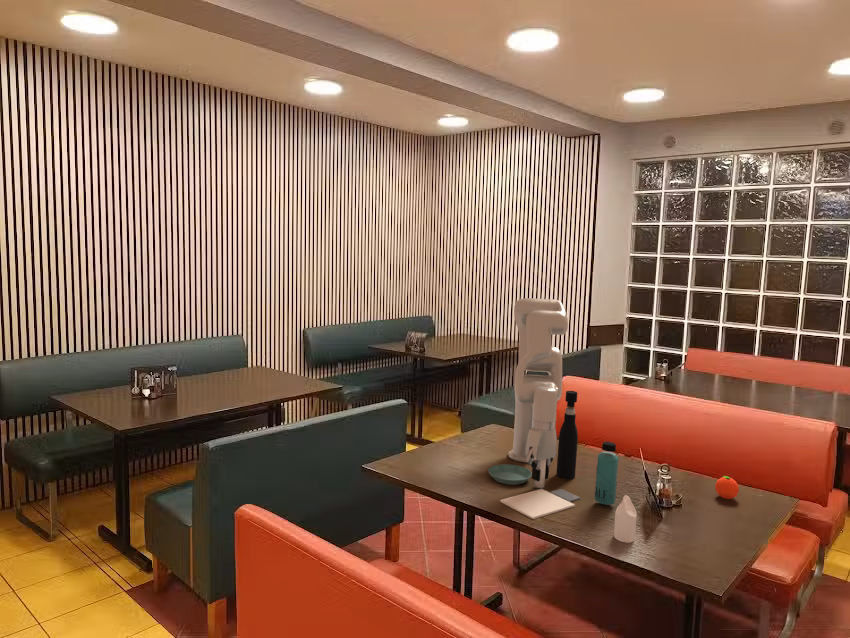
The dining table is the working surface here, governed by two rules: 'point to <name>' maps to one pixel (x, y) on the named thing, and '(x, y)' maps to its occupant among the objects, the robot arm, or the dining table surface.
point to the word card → (565, 495)
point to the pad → (537, 503)
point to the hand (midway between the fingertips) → (539, 478)
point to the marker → (541, 476)
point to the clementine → (726, 487)
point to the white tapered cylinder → (625, 521)
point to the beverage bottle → (606, 475)
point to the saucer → (509, 474)
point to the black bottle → (568, 440)
